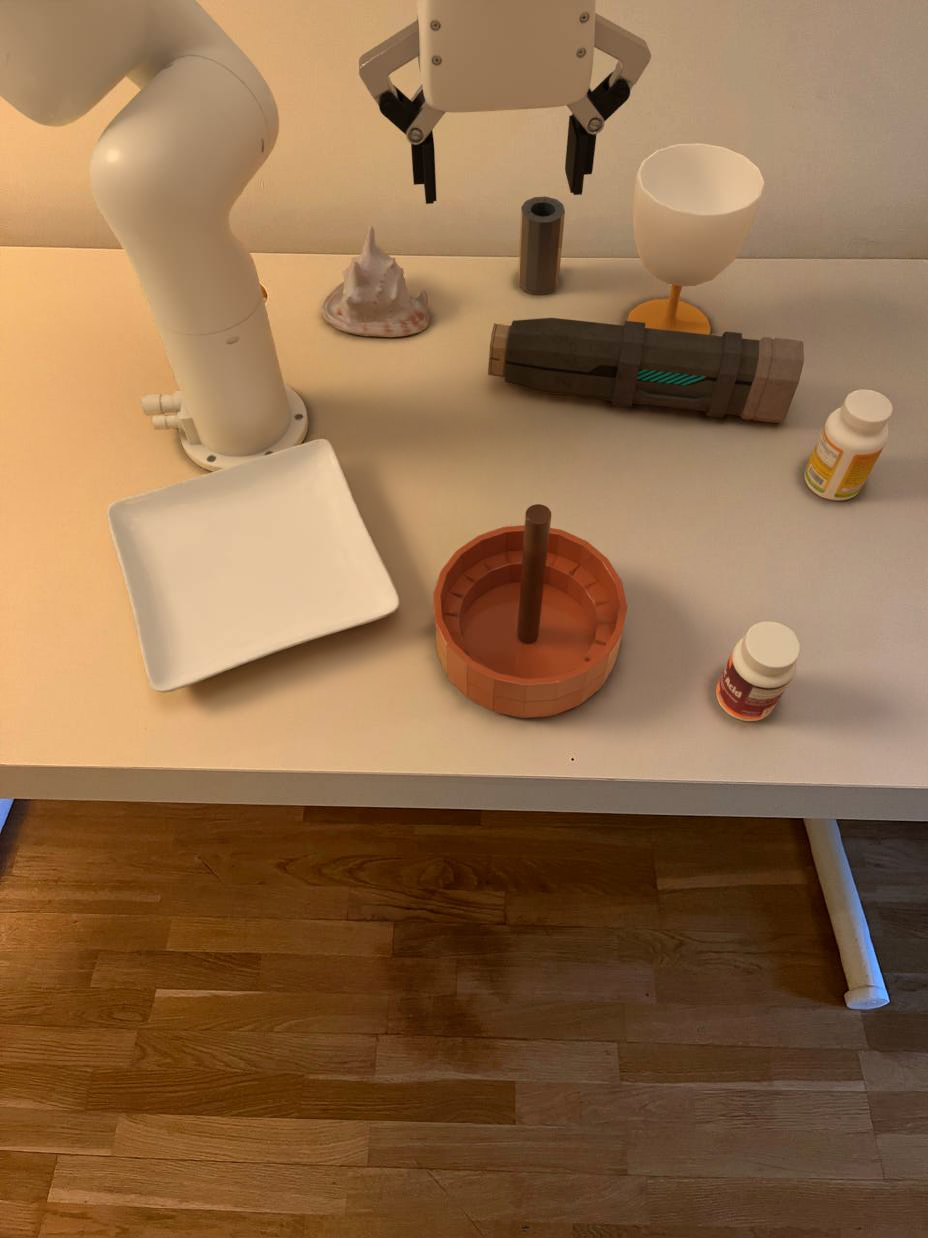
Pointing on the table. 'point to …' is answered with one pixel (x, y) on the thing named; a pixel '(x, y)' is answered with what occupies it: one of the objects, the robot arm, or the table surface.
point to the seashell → (375, 297)
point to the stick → (533, 571)
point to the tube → (650, 366)
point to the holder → (540, 245)
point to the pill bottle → (758, 671)
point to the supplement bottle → (849, 445)
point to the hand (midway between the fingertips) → (501, 187)
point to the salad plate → (246, 564)
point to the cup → (691, 224)
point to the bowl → (488, 620)
